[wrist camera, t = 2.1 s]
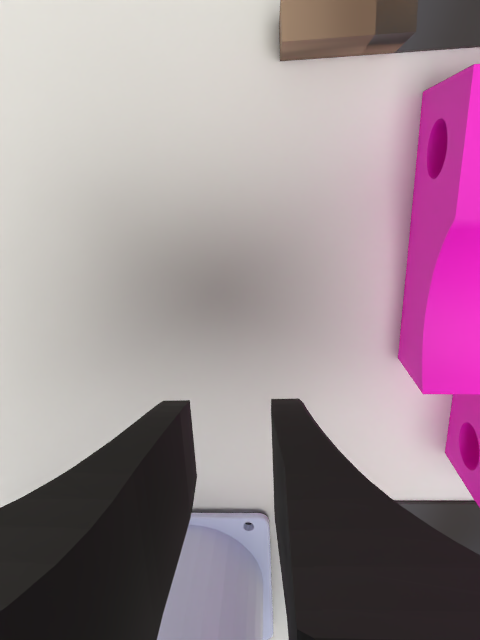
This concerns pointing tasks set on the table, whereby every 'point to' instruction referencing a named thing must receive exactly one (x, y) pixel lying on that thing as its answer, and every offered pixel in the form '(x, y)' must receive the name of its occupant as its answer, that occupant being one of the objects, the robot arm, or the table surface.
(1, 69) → the table surface
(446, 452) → the toy block
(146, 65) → the table surface
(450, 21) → the trap channel
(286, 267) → the table surface
